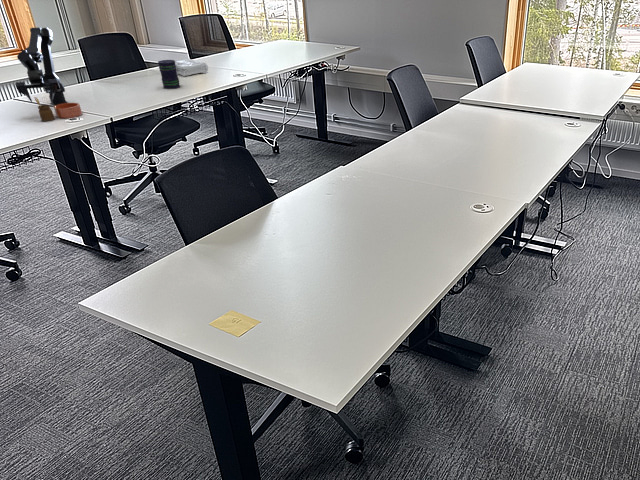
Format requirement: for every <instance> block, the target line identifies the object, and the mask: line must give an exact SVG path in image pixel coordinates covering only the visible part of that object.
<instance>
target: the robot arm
mask: <svg viewBox="0 0 640 480" xmlns="http://www.w3.org/2000/svg"><path fill="white" fill-rule="evenodd" d="M29 31H30V36H29V44H28V46H27V47H26V48H25V49H21V51H20V52H18V54H17V60H18V61H19V62H20V63H21V64H22V66H23V67H24V68H26V74H27V77H28V81H29V83H26V82H25V81H16V82H15V84H14V85H15V88H16V90H17V92H18V93H19V94H22V95H25V96H26V97H27V99H28V100H29V101H30V103H33V100H32V98H31V95H30V93H29V91H28V90H29V89H30V90H31V89H44V91H45V94H48V98H49V100H50V104H51V105H53V106H55V105H58V104H62V103H69V102H68V101H66V97H65V94H64V93H65V92H66V88H65V86H64V84H63V83H62V81H61V80H60V78H59V77H58V75H57V74H56V72H55V65H54V60H53V54H52V49H51V46H52V43H53V41H54V40H53V37H54V34H53V30H52V29H50V28H49V27H39V26H38V27H31V28H29ZM39 63H40V64H41V63H43V69H44V71H43V69H42V68H41V67H40V64H39Z"/></svg>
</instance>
